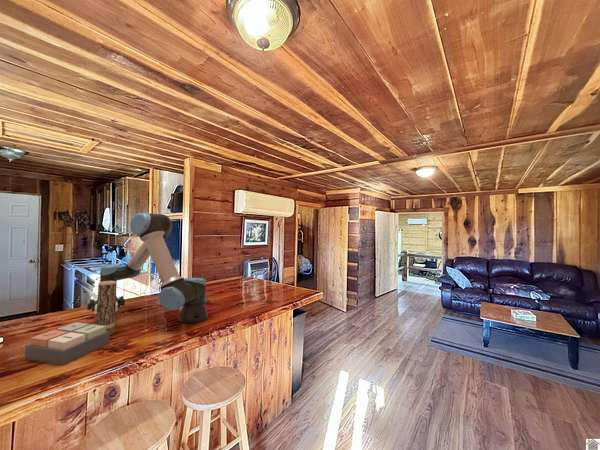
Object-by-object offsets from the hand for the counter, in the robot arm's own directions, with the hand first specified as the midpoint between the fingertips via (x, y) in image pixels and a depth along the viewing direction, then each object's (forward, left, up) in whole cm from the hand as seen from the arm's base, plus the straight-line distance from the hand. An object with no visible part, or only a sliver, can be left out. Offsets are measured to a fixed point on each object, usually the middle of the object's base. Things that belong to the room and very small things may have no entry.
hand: (106, 309), depth 111 cm
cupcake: (-10, -61, -14) cm, 64 cm away
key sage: (-1, +7, -9) cm, 11 cm away
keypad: (+4, +12, -13) cm, 18 cm away
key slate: (+8, +7, -9) cm, 14 cm away
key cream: (-1, +16, -9) cm, 18 cm away
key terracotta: (+8, +16, -9) cm, 20 cm away
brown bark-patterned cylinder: (+4, -3, -14) cm, 15 cm away
